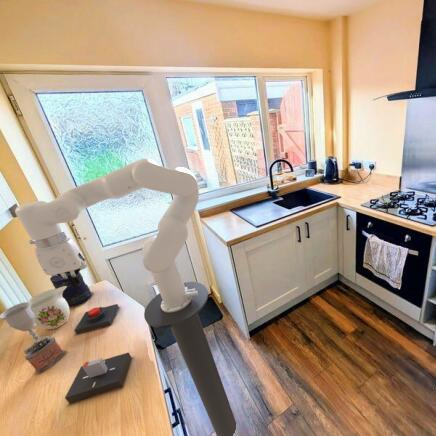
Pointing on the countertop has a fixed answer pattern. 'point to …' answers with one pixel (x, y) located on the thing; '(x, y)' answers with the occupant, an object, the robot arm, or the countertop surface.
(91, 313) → the power button
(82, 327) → the base
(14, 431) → the countertop surface
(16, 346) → the countertop surface
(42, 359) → the brick-red planter box
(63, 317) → the pitcher
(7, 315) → the chalice
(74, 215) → the robot arm
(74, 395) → the control panel
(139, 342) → the countertop surface
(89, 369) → the knob
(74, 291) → the storage jar
